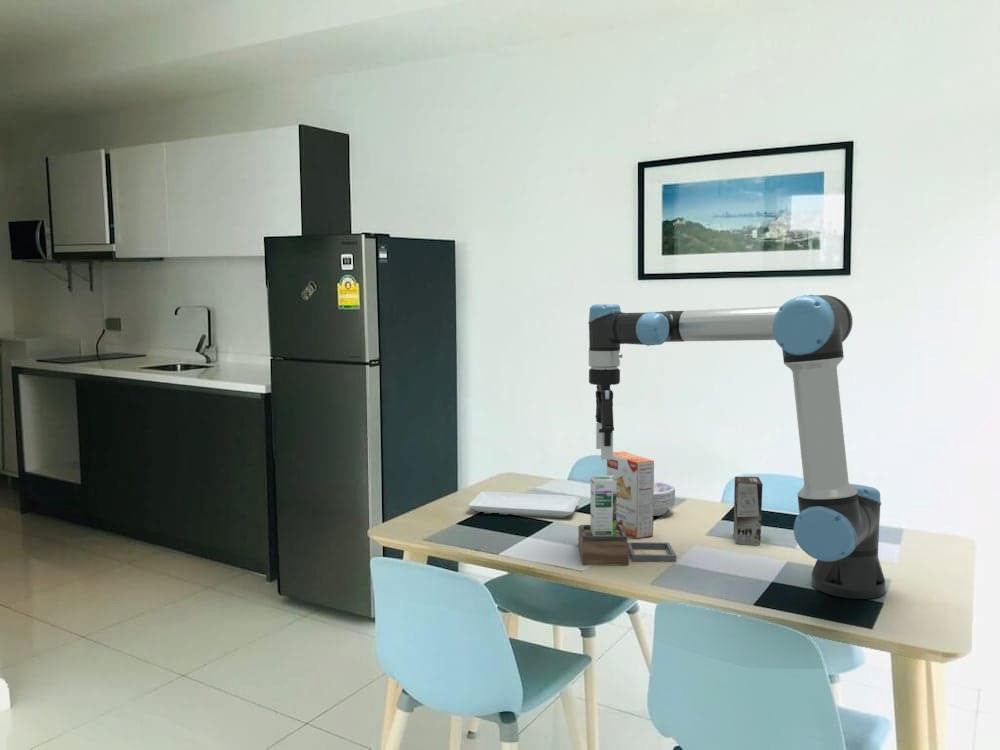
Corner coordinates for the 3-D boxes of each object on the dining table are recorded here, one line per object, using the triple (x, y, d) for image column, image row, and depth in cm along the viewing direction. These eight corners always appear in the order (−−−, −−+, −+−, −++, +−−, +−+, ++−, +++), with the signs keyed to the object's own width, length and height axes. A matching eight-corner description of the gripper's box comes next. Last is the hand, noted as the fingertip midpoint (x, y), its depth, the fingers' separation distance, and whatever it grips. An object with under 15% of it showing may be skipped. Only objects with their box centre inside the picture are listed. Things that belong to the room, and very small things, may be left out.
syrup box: (593, 538, 205) (593, 480, 204) (589, 531, 211) (590, 474, 210) (616, 537, 205) (617, 479, 204) (612, 530, 211) (613, 474, 210)
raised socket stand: (628, 565, 200) (628, 540, 200) (582, 564, 201) (582, 540, 200) (621, 544, 216) (621, 522, 216) (578, 544, 217) (578, 521, 216)
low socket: (676, 561, 203) (676, 555, 203) (632, 561, 203) (632, 555, 203) (668, 548, 213) (668, 542, 213) (627, 548, 214) (627, 542, 213)
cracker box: (605, 526, 233) (605, 452, 231) (623, 523, 236) (623, 450, 234) (635, 539, 221) (636, 461, 218) (653, 536, 223) (655, 459, 221)
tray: (572, 522, 238) (573, 510, 238) (466, 515, 246) (466, 504, 245) (581, 507, 255) (581, 496, 254) (481, 501, 262) (481, 490, 262)
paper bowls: (612, 509, 251) (612, 483, 250) (655, 504, 257) (656, 479, 256) (640, 522, 237) (640, 495, 236) (685, 516, 243) (685, 489, 242)
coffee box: (761, 545, 215) (763, 484, 214) (735, 544, 216) (737, 483, 215) (757, 535, 224) (759, 476, 222) (732, 534, 225) (734, 475, 224)
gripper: (626, 372, 191) (625, 464, 193) (614, 363, 216) (614, 444, 218) (593, 372, 191) (593, 464, 194) (585, 363, 216) (585, 444, 218)
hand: (604, 453), depth 206 cm, fingers open, 13 cm apart
